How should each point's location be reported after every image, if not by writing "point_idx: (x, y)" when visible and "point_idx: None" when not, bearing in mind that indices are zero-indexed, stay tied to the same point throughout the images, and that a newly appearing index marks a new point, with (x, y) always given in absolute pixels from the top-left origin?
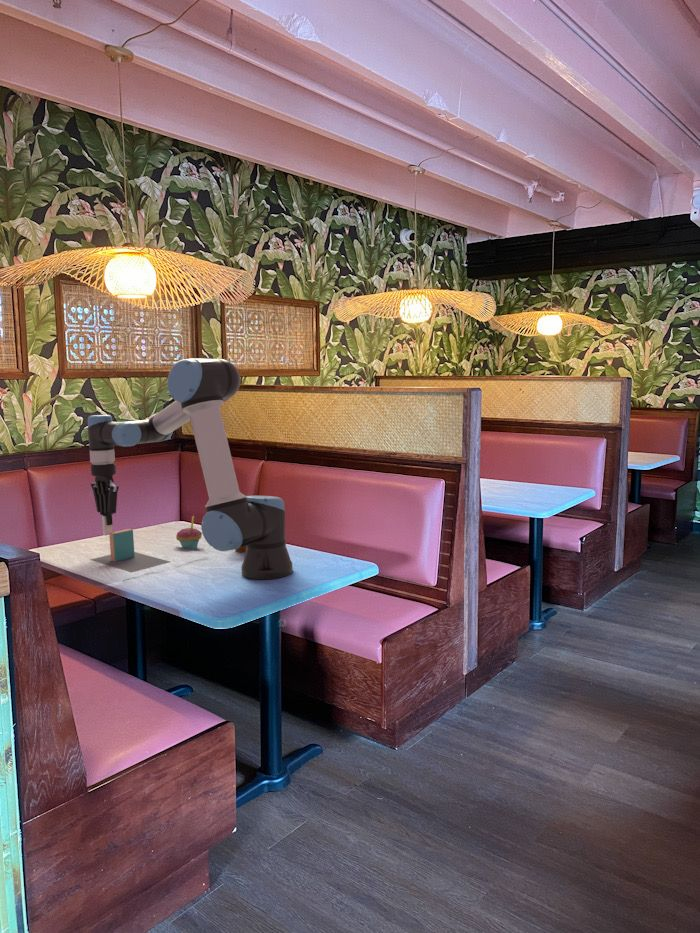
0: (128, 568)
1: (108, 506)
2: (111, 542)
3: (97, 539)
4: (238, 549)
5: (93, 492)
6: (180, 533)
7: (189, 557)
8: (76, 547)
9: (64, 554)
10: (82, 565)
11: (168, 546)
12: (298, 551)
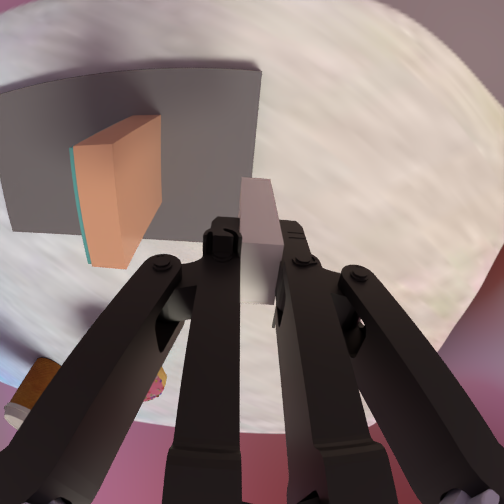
0: (23, 106)
1: (130, 309)
2: (117, 131)
3: (467, 287)
4: (41, 361)
5: (484, 422)
6: None
7: (55, 294)
8: (475, 202)
9: (454, 119)
10: (250, 30)
11: None
12: (7, 378)
